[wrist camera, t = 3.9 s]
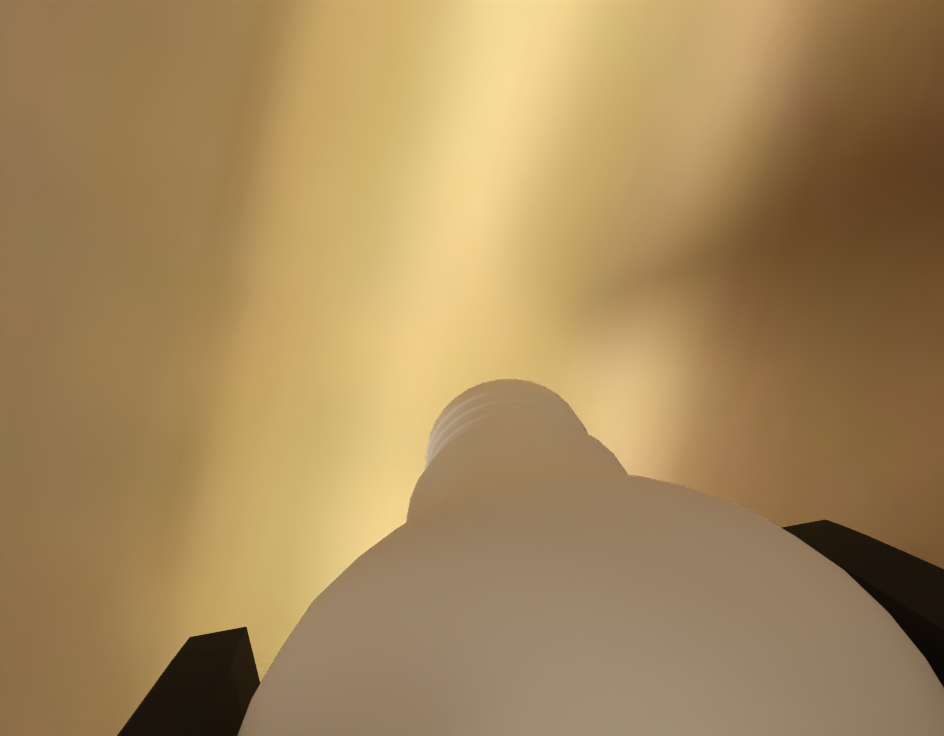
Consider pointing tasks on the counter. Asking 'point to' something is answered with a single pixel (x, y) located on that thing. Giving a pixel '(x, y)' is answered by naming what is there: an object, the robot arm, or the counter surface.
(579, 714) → the lightbulb
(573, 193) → the counter surface
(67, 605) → the counter surface
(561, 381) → the counter surface
